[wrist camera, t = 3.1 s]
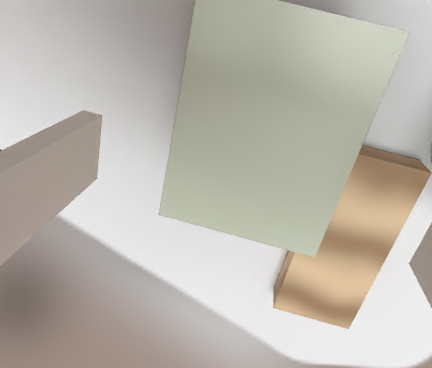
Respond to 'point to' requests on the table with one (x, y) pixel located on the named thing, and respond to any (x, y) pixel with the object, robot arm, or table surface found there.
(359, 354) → the table surface
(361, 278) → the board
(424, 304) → the table surface
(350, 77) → the lid
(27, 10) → the table surface
